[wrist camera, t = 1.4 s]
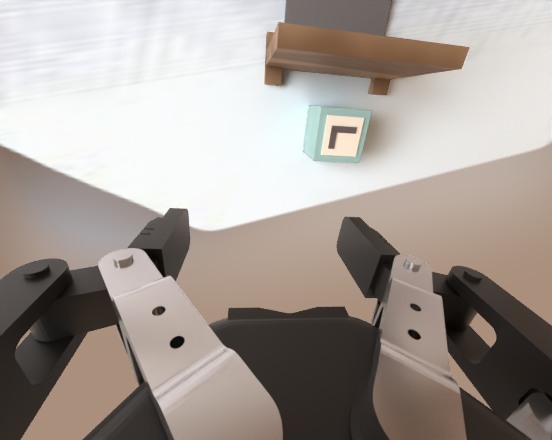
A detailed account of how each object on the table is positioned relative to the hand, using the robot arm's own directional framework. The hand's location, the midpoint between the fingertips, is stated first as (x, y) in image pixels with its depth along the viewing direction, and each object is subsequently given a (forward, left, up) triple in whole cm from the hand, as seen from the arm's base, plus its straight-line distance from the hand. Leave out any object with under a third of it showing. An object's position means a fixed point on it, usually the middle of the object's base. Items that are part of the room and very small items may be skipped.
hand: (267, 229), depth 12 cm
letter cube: (-3, +10, -23) cm, 26 cm away
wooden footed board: (-10, +9, -23) cm, 27 cm away
